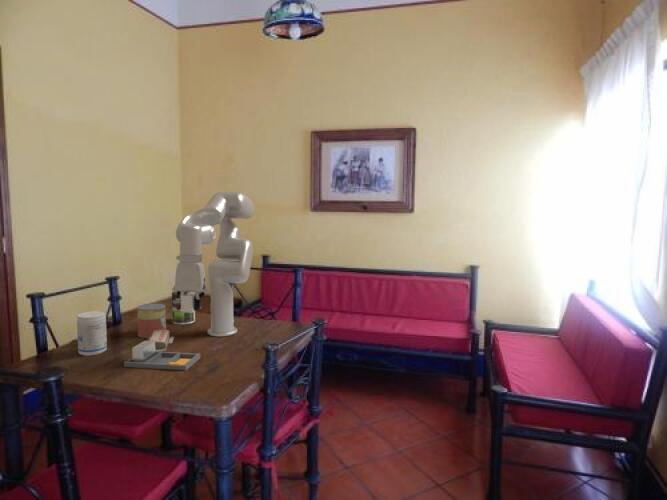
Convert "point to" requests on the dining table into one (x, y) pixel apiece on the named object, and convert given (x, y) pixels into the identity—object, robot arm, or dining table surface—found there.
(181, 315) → the coffee can
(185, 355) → the rack
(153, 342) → the panel seated
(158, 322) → the canned food
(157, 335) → the packaged product
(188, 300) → the white rectangular block
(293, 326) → the dining table surface
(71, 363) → the dining table surface
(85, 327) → the supplement tub
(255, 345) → the dining table surface
